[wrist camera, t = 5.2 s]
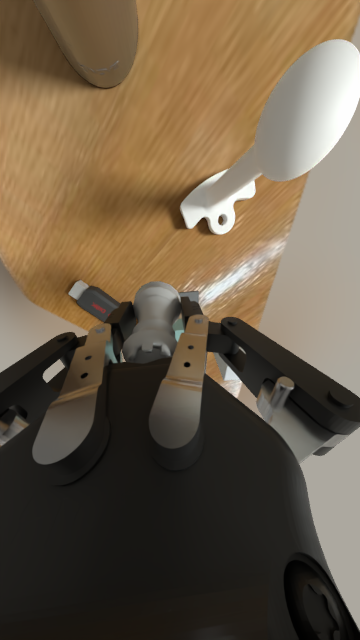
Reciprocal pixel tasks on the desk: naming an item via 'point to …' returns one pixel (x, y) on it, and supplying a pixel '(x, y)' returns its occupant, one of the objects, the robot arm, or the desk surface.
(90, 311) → the usb drive
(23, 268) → the desk surface
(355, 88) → the white ball-topped post
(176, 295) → the rook chess piece
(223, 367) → the skincare box
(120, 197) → the desk surface
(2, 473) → the robot arm
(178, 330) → the teal block
